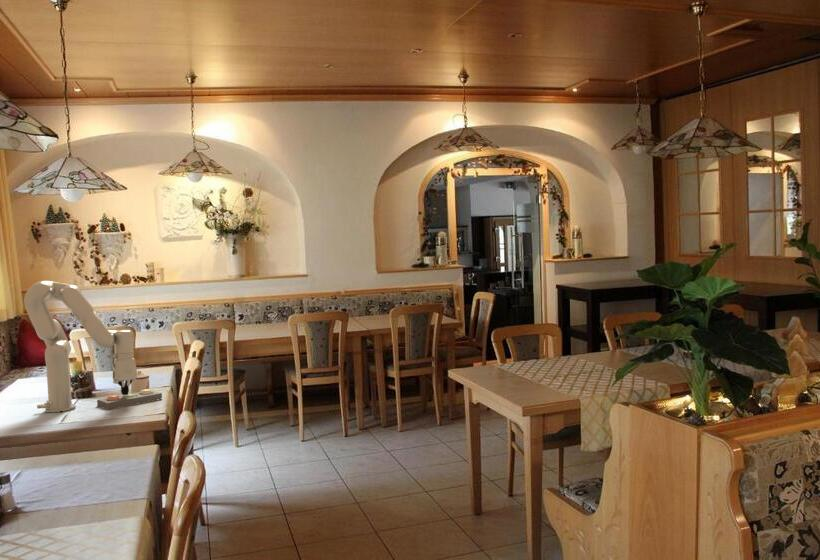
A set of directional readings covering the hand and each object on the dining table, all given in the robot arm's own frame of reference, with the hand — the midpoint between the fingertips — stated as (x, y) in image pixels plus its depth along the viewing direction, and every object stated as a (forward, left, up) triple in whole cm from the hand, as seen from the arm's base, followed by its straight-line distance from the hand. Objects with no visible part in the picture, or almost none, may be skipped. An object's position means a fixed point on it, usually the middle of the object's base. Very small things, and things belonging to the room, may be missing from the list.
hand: (124, 394), depth 330 cm
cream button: (+10, 0, -3) cm, 11 cm away
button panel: (+2, 0, -4) cm, 5 cm away
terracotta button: (-6, 0, -3) cm, 6 cm away
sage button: (+2, 0, -4) cm, 4 cm away
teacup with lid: (+15, +17, -4) cm, 23 cm away
